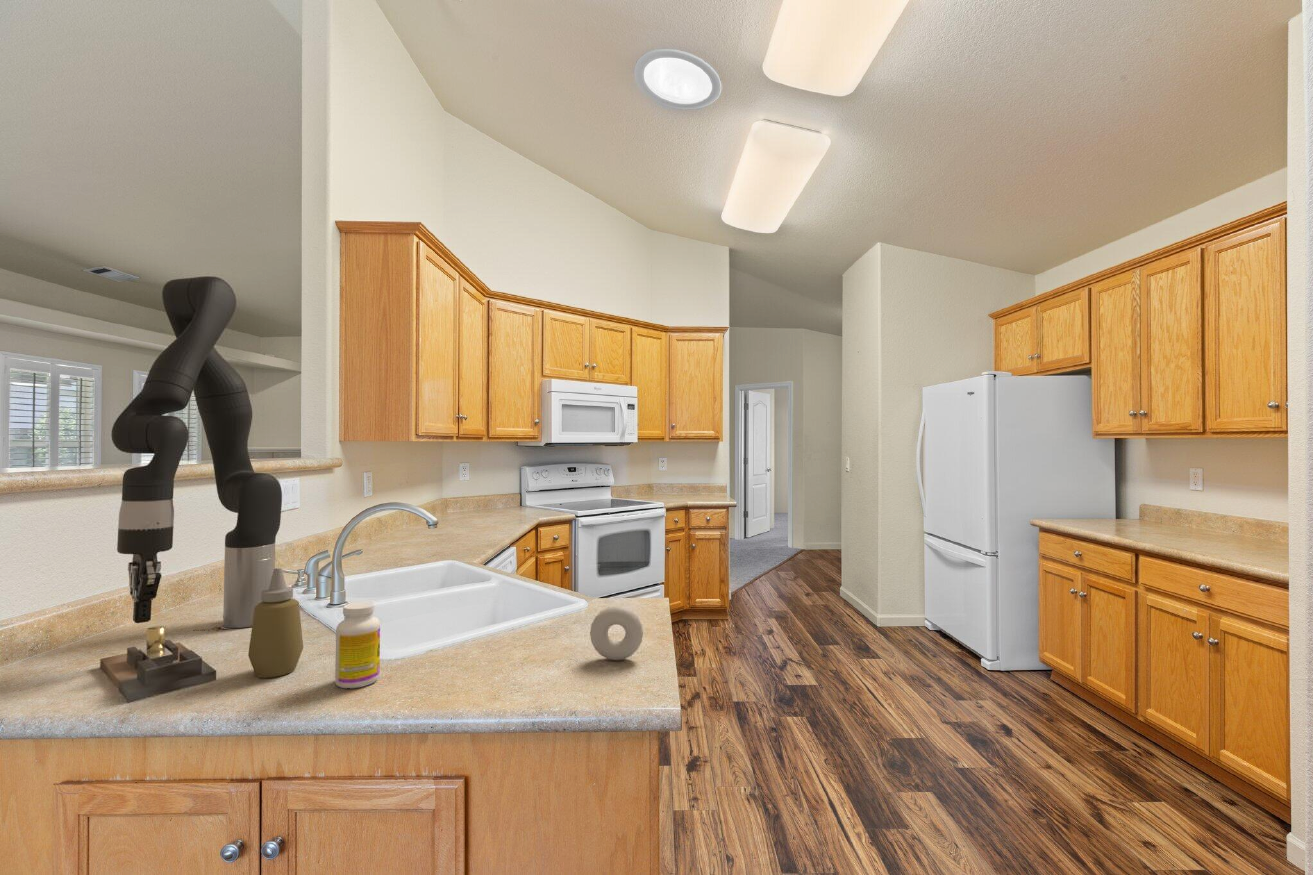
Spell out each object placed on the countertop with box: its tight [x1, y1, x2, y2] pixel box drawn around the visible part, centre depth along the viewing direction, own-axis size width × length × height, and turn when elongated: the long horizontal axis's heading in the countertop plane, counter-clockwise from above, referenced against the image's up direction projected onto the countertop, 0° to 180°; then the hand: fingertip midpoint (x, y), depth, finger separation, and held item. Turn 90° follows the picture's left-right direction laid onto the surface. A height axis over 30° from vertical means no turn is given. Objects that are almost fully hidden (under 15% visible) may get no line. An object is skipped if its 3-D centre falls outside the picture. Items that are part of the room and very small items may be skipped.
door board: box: [99, 639, 217, 703], centre depth 99 cm, size 11×22×4 cm, turn 52°
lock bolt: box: [138, 625, 173, 667], centre depth 100 cm, size 3×8×6 cm, turn 52°
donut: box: [589, 605, 644, 661], centre depth 108 cm, size 10×4×10 cm, turn 90°
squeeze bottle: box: [247, 567, 304, 679], centre depth 100 cm, size 8×8×18 cm
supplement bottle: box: [334, 601, 381, 689], centre depth 97 cm, size 7×7×13 cm
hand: (141, 621), depth 103 cm, fingers closed
